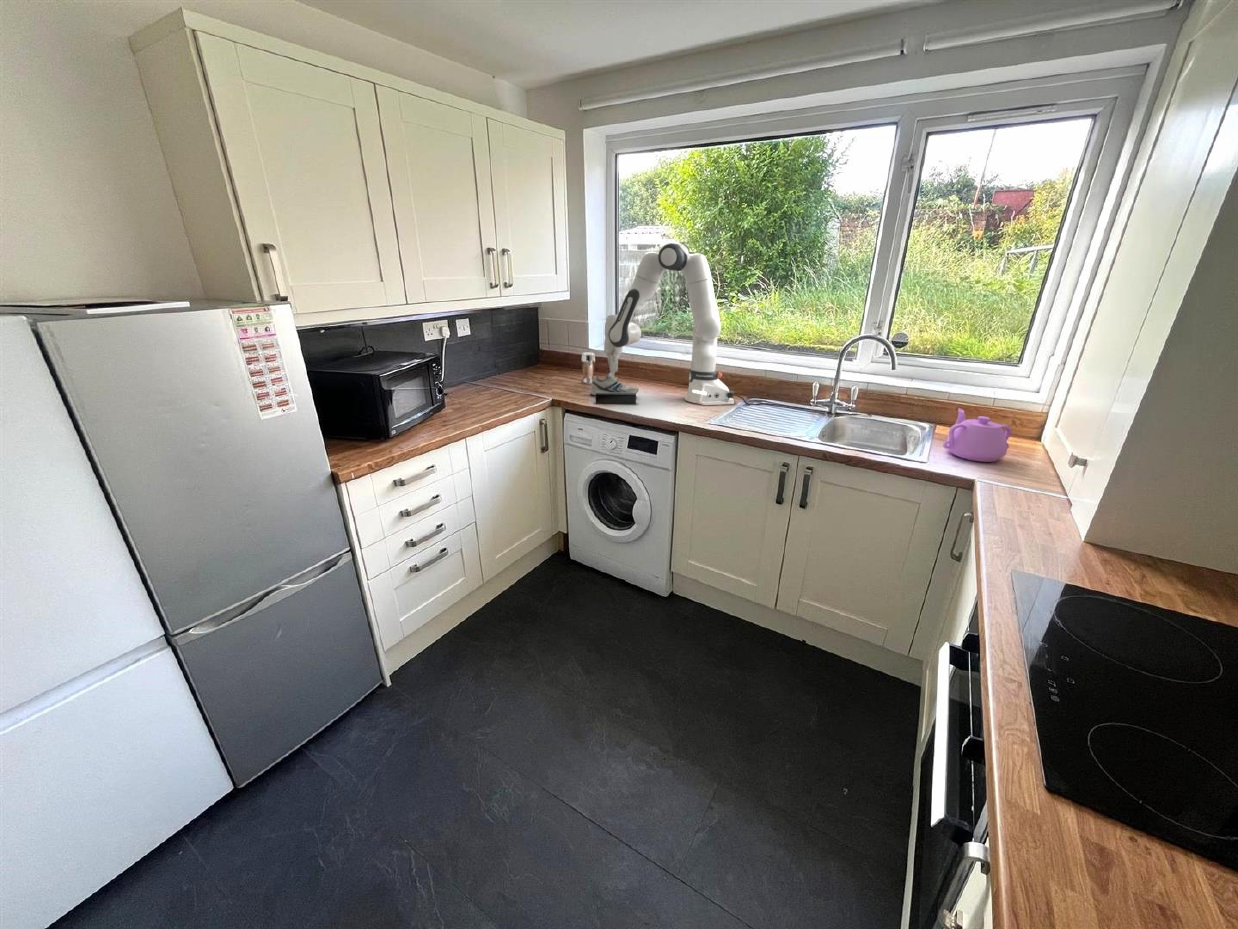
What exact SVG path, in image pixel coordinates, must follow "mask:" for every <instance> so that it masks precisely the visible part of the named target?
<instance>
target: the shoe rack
mask: <svg viewBox="0 0 1238 929" xmlns="http://www.w3.org/2000/svg"><path fill="white" fill-rule="evenodd" d="M595 404H596V405H637V394H636V392H596V396H595Z"/></svg>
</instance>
